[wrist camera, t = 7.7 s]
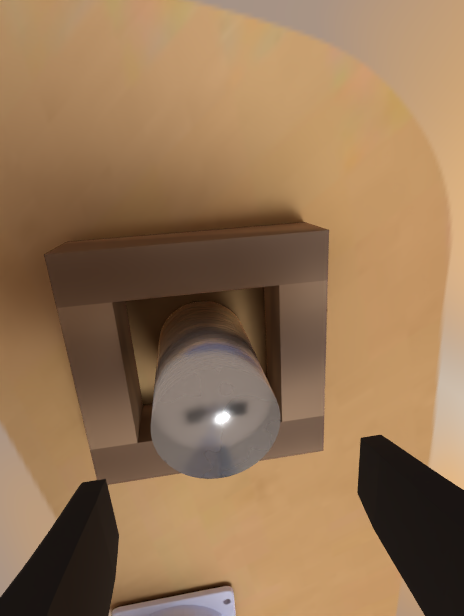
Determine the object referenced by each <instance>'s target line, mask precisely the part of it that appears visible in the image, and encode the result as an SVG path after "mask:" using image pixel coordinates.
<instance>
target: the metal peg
mask: <svg viewBox="0 0 464 616" xmlns="http://www.w3.org/2000/svg"><path fill="white" fill-rule="evenodd" d="M279 428H280V410H279V405H278V403H277V400H276V398H275V395H274V393H273V391H272V389H271V387H270V385H269V382H268V380H267V378H266V376H265V374H264V372H263V369H262V367H261V365H260V363H259V361H258V359H257V356H256V354H255V352H254V350H253V348H252V346H251V343H250V341H249V339H248V337H247V335H246V333H245V330H244V328H243V326H242V324H241V322H240V320H239V319H238V317H237V316H236V315H235V314H234V313H233V312H232V311H231V310H230V309H228V308H227V307H225V306H223V305H221V304H218V303H215V302H209V301H198V302H192V303H189V304H186V305H184V306H182V307H180V308H178V309H177V310H175V311H174V312H173V313H172V314H171V315H170V316H169V317H168V318H167V320H166V321H165V323H164V324H163V327H162V329H161V332H160V338H159V347H158V357H157V367H156V377H155V387H154V397H153V407H152V417H151V437H152V442H153V444H154V447H155V449H156V451H157V453H158V454H159V456H160V457H161V458H162V459H163V460H164V461H165V462H166V463H167V464H168V465H169V466H170V467H172V468H173V469H175V470H177V471H179V472H180V473H183V474H185V475H188V476H192V477H197V478H205V479H214V478H222V477H228V476H231V475H235V474H237V473H240V472H242V471H244V470H246V469H248V468H250V467H251V466H253V465H254V464H256V463H257V462H258V461H259V460H261V459H262V458H263V457H264V456H265V455H266V453H267V452H268V451H269V450H270V448H271V447H272V445H273V443H274V442H275V440H276V437H277V435H278V432H279Z"/></svg>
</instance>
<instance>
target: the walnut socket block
mask: <svg viewBox="0 0 464 616" xmlns="http://www.w3.org/2000/svg"><path fill="white" fill-rule="evenodd" d="M328 246H329V230H327V229H324V228H321V227H318V226H315V225H312V224H308V223H305V222H301V223H289V224H277V225H265V226H253V227H241V228H229V229H217V230H204V231H192V232H180V233H168V234H156V235H144V236H132V237H120V238H108V239H96V240H83V241H71V242H65V243H64V244H62V245H60V246H58V247H57V248H55V249H53V250H51V251H50V252H48V253H46V254H44V256H45V261H46V265H47V269H48V273H49V278H50V282H51V286H52V290H53V295H54V299H55V303H56V307H57V311H58V316H59V320H60V324H61V328H62V333H63V337H64V341H65V345H66V350H67V354H68V358H69V362H70V367H71V371H72V375H73V379H74V384H75V388H76V392H77V396H78V401H79V405H80V409H81V413H82V418H83V422H84V426H85V430H86V435H87V439H88V443H89V447H90V452H91V456H92V460H93V464H94V469H95V473H96V477H97V480H102V479H106V482H107V485H109V484H116V483H122V482H128V481H135V480H141V479H147V478H154V477H160V476H166V475H173V474H179V473H180V472H179V471H177V470H175V469H173V468H172V467H170V466H169V465H168V464H167V463H166V462H165V461H164V460H163V459H162V458H161V457H160V456H159V454H158V453H157V451H156V449H155V447H154V444H153V442H152V437H151V417H152V407H153V404H150V405H143V403H142V397H141V391H140V385H139V380H138V374H137V368H136V362H135V356H134V350H133V344H132V338H131V332H130V326H129V320H128V314H127V308H126V302H125V301H130V300H140V299H149V298H159V297H169V296H179V295H188V294H198V293H208V292H218V291H228V290H237V289H247V288H257V287H264V305H265V333H266V362H267V380H268V382H269V385H270V387H271V389H272V391H273V393H274V395H275V398H276V400H277V403H278V405H279V410H280V428H279V432H278V435H277V437H276V440H275V442H274V443H273V445H272V447H271V448H270V450H269V451H268V452H267V453H266V455H265V456H264V457H263V458H262V459H261V460H268V459H274V458H280V457H287V456H293V455H299V454H306V453H312V452H318V451H323V443H324V404H325V364H326V325H327V286H328ZM261 460H259V461H261Z"/></svg>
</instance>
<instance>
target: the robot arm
mask: <svg viewBox="0 0 464 616" xmlns="http://www.w3.org/2000/svg"><path fill="white" fill-rule="evenodd" d="M358 495H359V497H360V500H361V502H362V504H363V506H364V509H365V511H366V513H367V515H368V517H369V520H370V522H371V524H372V526H373V528H374V530H375V532H376V534H377V535H378V537H379V539H380V540H381V542H382V544H383V546H384V547H385V549H386V551H387V552H388V554H389V556H390V558H391V559H392V561H393V563H394V564H395V566H396V568H397V569H398V571H399V573H400V574H401V576H402V578H403V579H404V581H405V583H406V584H407V586H408V588H409V589H410V591H411V593H412V594H413V596H414V598H415V600H416V601H417V603H418V605H419V606H420V608H421V610H422V611H423V613H424V615H425V616H464V490H463V489H461V488H459V487H458V486H456V485H455V484H453V483H452V482H450V481H449V480H447V479H445V478H444V477H443V476H441V475H440V474H438V473H437V472H435V471H433V470H432V469H431V468H429V467H428V466H426V465H425V464H423V463H422V462H420V461H419V460H417V459H416V458H414V457H413V456H412V455H410V454H409V453H407V452H406V451H404V450H403V449H401V448H400V447H398V446H397V445H395V444H394V443H393V442H391V441H390V440H388V439H387V438H385V437H383V436H382V435H376V436H370V437H363V438H361V443H360V460H359V477H358ZM118 541H119V533H118V529H117V525H116V520H115V516H114V512H113V508H112V503H111V499H110V495H109V490H108V486H107V482H106V479H102V480H96V481H89V482H83V483H82V484H81V485H80V486H79V487H78V489H77V490H76V492H75V493H74V495H73V496H72V498H71V499H70V501H69V502H68V504H67V506H66V507H65V509H64V510H63V512H62V513H61V515H60V516H59V518H58V519H57V520H56V522H55V523H54V525H53V527H52V528H51V529H50V531H49V532H48V534H47V535H46V536H45V538H44V539H43V541H42V542H41V544H40V545H39V546H38V548H37V549H36V551H35V552H34V554H33V555H32V556H31V558H30V559H29V560H28V562H27V563H26V564H25V566H24V567H23V569H22V570H21V571H20V573H19V574H18V575H17V577H16V578H15V579H14V581H13V582H12V583H11V584H10V586H9V587H8V588H7V589H6V591H5V592H4V593H3V595H2V596H1V597H0V616H108V614H109V609H110V604H111V598H112V593H113V588H114V582H115V575H116V565H117V553H118ZM111 616H236V614H235V602H234V592H233V588H232V587H230V586H223V587H218V588H213V589H207V590H202V591H197V592H192V593H187V594H182V595H177V596H172V597H167V598H162V599H156V600H151V601H146V602H141V603H136V604H131V605H126V606H121V607H117V608H115V609H114V610H113V611H112V615H111Z"/></svg>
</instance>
